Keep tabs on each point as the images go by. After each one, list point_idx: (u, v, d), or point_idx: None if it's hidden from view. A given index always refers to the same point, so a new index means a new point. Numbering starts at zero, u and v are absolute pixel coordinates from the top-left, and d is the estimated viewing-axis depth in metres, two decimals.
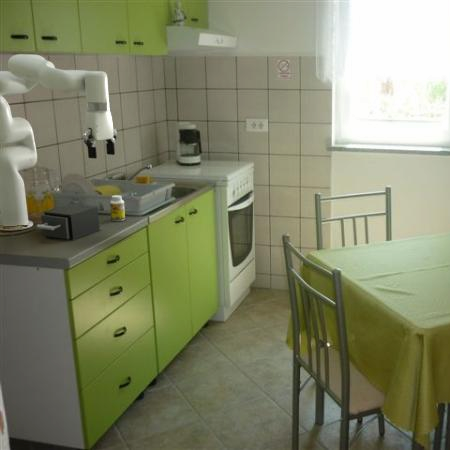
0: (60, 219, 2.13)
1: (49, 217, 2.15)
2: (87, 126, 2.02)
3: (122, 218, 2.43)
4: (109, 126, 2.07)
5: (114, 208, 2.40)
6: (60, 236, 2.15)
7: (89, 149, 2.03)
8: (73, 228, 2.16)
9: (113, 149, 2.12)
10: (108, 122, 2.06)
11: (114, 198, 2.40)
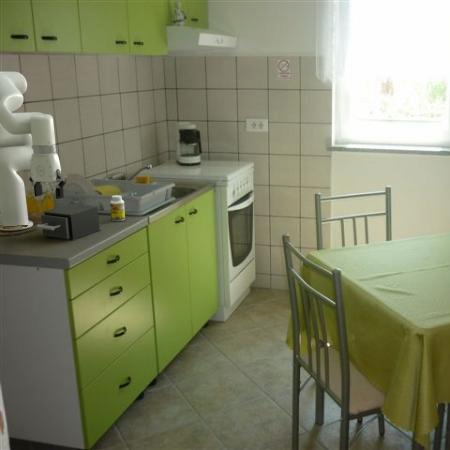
0: (60, 219, 2.13)
1: (49, 217, 2.15)
2: (55, 168, 2.05)
3: (122, 218, 2.43)
4: None
5: (114, 208, 2.40)
6: (60, 236, 2.15)
7: (60, 190, 2.08)
8: (73, 228, 2.16)
9: None
10: None
11: (114, 198, 2.40)
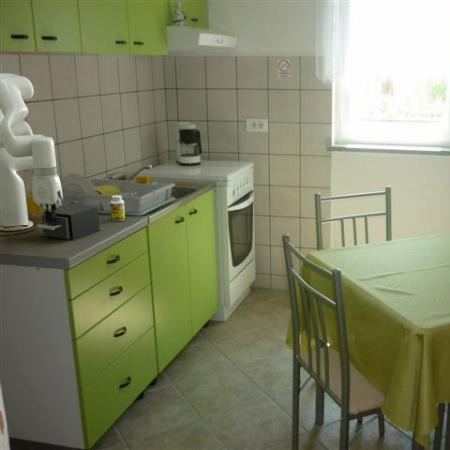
0: (60, 219, 2.13)
1: None
2: (56, 190, 2.07)
3: (122, 218, 2.43)
4: None
5: (114, 208, 2.40)
6: (60, 236, 2.15)
7: (52, 214, 2.11)
8: (73, 228, 2.16)
9: None
10: None
11: (114, 198, 2.40)
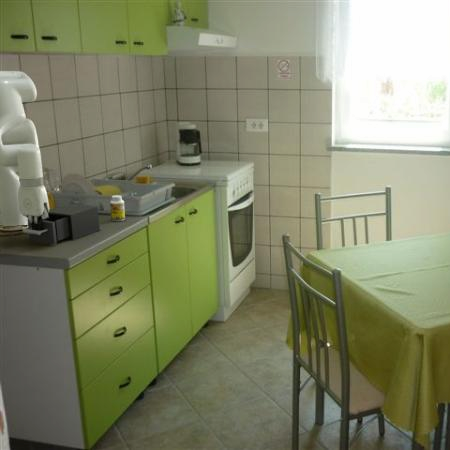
0: (47, 223, 2.07)
1: None
2: (42, 201, 2.02)
3: (122, 218, 2.43)
4: None
5: (114, 208, 2.40)
6: (47, 241, 2.09)
7: (38, 225, 2.06)
8: (73, 228, 2.16)
9: None
10: None
11: (114, 198, 2.40)
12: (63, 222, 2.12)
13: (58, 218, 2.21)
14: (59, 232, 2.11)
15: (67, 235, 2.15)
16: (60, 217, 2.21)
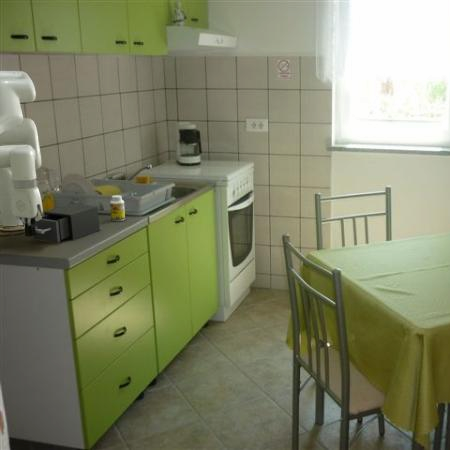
0: (50, 222, 2.09)
1: None
2: (35, 203, 1.99)
3: (122, 218, 2.43)
4: None
5: (114, 208, 2.40)
6: (50, 239, 2.11)
7: (32, 227, 2.03)
8: (73, 228, 2.16)
9: None
10: None
11: (114, 198, 2.40)
12: (66, 221, 2.14)
13: (61, 217, 2.23)
14: (63, 231, 2.13)
15: (70, 234, 2.16)
16: (63, 216, 2.23)
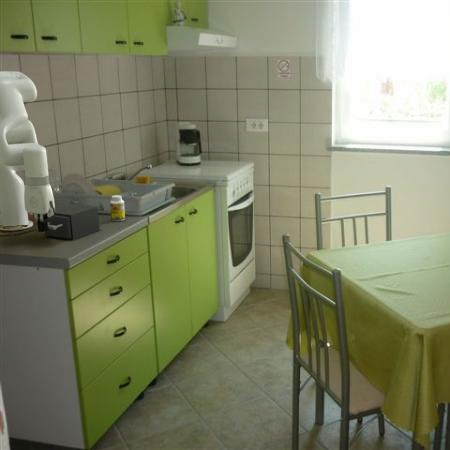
0: (62, 218, 2.14)
1: None
2: (48, 200, 2.04)
3: (122, 218, 2.43)
4: None
5: (114, 208, 2.40)
6: (62, 235, 2.16)
7: (44, 223, 2.09)
8: (73, 228, 2.16)
9: None
10: None
11: (114, 198, 2.40)
12: None
13: None
14: None
15: None
16: None
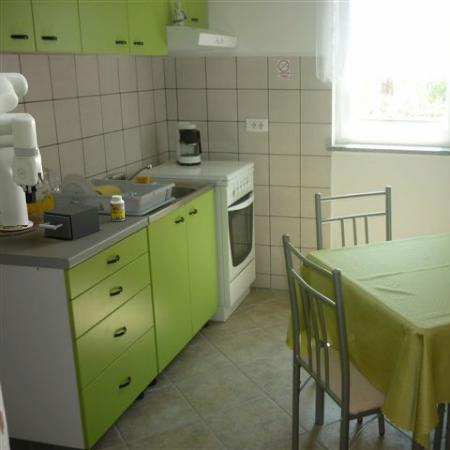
0: (62, 218, 2.14)
1: (51, 216, 2.16)
2: (36, 171, 2.02)
3: (122, 218, 2.43)
4: None
5: (114, 208, 2.40)
6: (62, 235, 2.16)
7: (32, 195, 2.07)
8: (73, 228, 2.16)
9: None
10: None
11: (114, 198, 2.40)
12: None
13: None
14: None
15: None
16: None
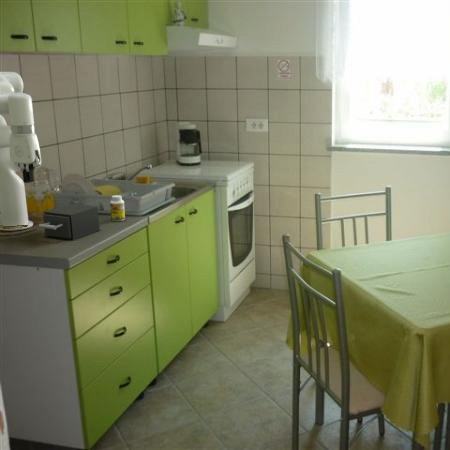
0: (62, 218, 2.14)
1: (51, 216, 2.16)
2: (33, 149, 2.02)
3: (122, 218, 2.43)
4: None
5: (114, 208, 2.40)
6: (62, 235, 2.16)
7: (30, 174, 2.06)
8: (73, 228, 2.16)
9: None
10: None
11: (114, 198, 2.40)
12: None
13: None
14: None
15: None
16: None
